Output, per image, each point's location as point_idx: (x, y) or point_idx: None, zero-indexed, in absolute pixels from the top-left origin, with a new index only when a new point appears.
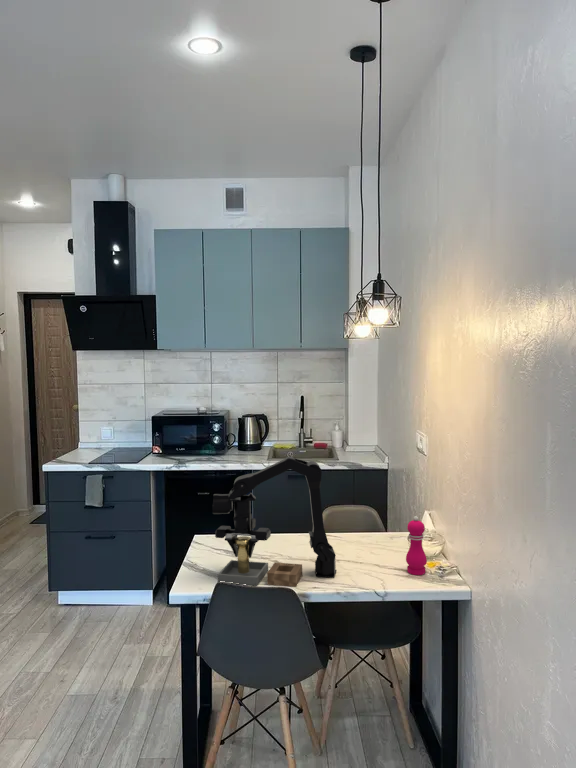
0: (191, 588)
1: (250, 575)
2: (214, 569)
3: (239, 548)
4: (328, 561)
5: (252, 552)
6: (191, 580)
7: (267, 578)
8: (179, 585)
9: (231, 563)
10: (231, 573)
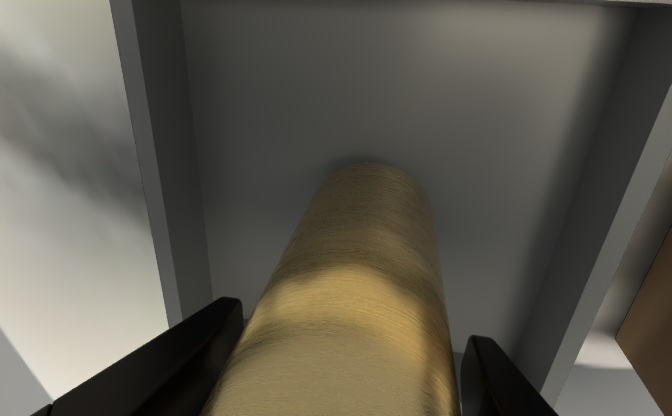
0: None
1: (443, 205)
2: (24, 28)
3: None
4: None
5: (544, 411)
6: (18, 275)
7: (645, 383)
8: (9, 340)
9: (149, 15)
10: (242, 171)
